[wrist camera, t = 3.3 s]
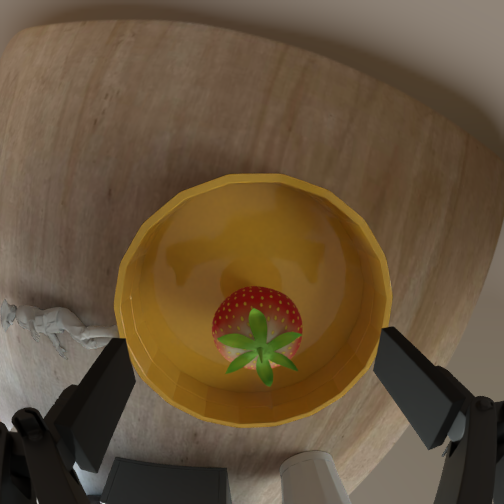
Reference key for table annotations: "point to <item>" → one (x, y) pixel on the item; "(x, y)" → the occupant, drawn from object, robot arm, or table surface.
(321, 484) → the cup
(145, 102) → the table surface
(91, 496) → the teapot
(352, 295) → the bowl
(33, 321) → the soldier figure
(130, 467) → the bin
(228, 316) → the fruit
